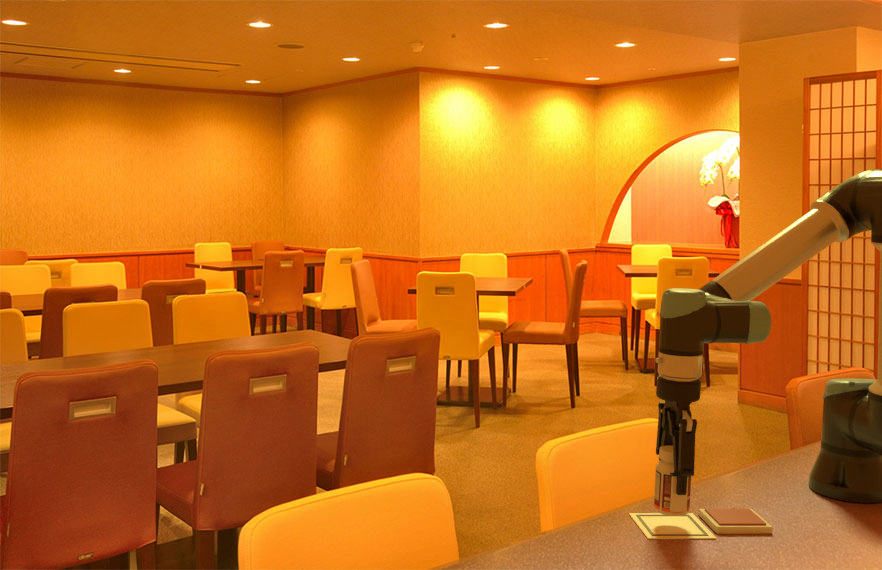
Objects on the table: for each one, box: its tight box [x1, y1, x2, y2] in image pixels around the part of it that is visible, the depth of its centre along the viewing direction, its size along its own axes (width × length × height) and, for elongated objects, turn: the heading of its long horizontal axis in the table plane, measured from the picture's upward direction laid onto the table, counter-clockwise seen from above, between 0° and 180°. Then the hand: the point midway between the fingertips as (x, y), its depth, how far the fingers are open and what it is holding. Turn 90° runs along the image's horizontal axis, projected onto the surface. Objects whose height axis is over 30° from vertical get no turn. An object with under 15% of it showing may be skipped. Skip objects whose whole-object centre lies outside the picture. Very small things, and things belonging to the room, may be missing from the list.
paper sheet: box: [628, 512, 717, 540], centre depth 161 cm, size 12×12×1 cm
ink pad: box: [698, 508, 773, 535], centre depth 163 cm, size 10×9×2 cm
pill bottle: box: [653, 445, 692, 516], centre depth 160 cm, size 6×6×11 cm
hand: (671, 504), depth 160 cm, fingers closed on pill bottle, 6 cm apart
